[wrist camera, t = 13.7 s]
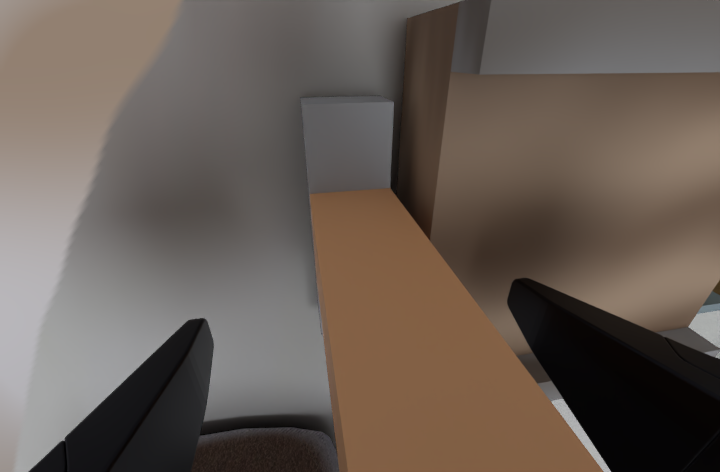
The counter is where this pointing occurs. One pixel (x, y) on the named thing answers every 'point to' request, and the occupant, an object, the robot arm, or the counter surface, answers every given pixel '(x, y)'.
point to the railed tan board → (569, 155)
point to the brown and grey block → (410, 324)
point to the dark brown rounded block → (266, 451)
